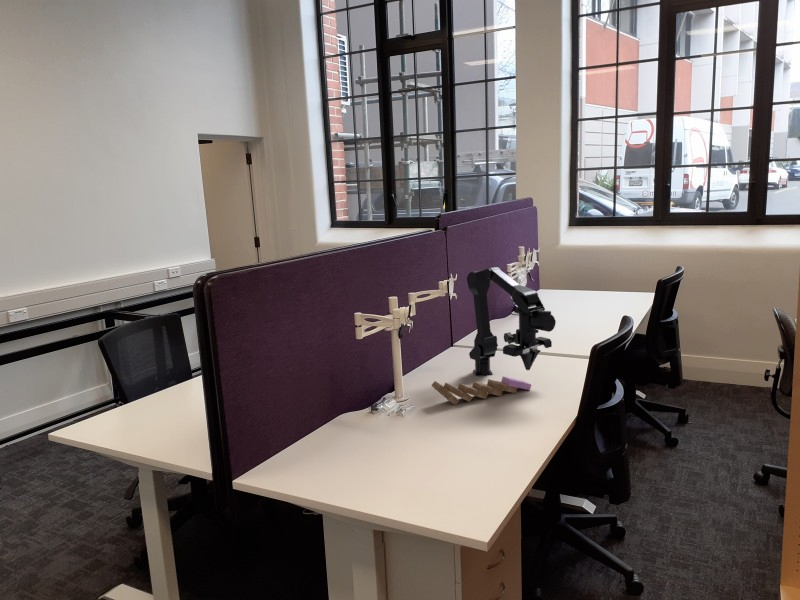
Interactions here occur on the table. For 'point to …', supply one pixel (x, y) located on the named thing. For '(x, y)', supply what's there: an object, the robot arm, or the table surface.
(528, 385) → the plum domino
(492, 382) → the walnut domino
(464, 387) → the walnut domino
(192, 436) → the table surface
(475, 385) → the walnut domino
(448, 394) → the walnut domino
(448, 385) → the walnut domino
